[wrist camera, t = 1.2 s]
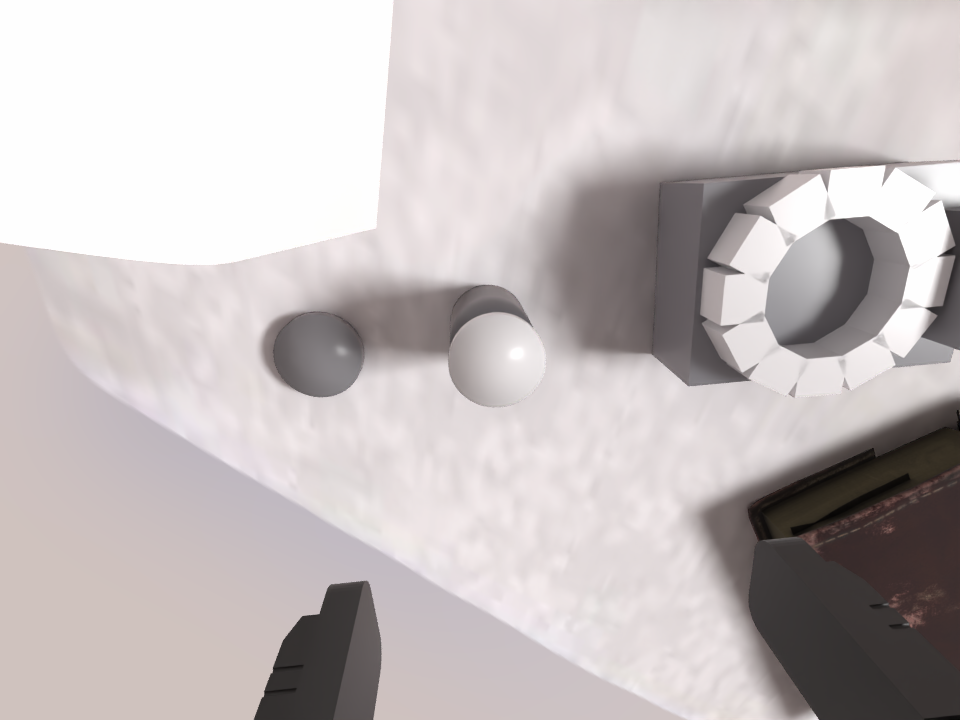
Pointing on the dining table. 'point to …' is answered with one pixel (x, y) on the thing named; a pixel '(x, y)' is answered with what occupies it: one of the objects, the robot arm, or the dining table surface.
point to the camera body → (808, 275)
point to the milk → (190, 125)
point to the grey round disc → (319, 354)
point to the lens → (494, 348)
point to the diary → (886, 528)
